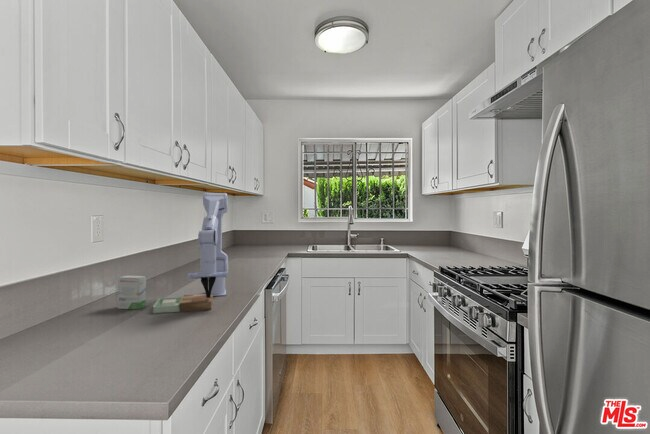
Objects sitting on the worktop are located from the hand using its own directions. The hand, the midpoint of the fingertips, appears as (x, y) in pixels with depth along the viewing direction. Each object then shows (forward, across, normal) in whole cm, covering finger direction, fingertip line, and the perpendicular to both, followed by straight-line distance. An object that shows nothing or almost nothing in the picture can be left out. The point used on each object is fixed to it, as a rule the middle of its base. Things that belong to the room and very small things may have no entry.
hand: (208, 297), depth 138 cm
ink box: (+4, -28, +7) cm, 29 cm away
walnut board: (+4, -4, +3) cm, 7 cm away
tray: (+4, -14, +3) cm, 15 cm away
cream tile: (+2, -15, +6) cm, 16 cm away
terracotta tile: (+1, -3, 0) cm, 3 cm away
